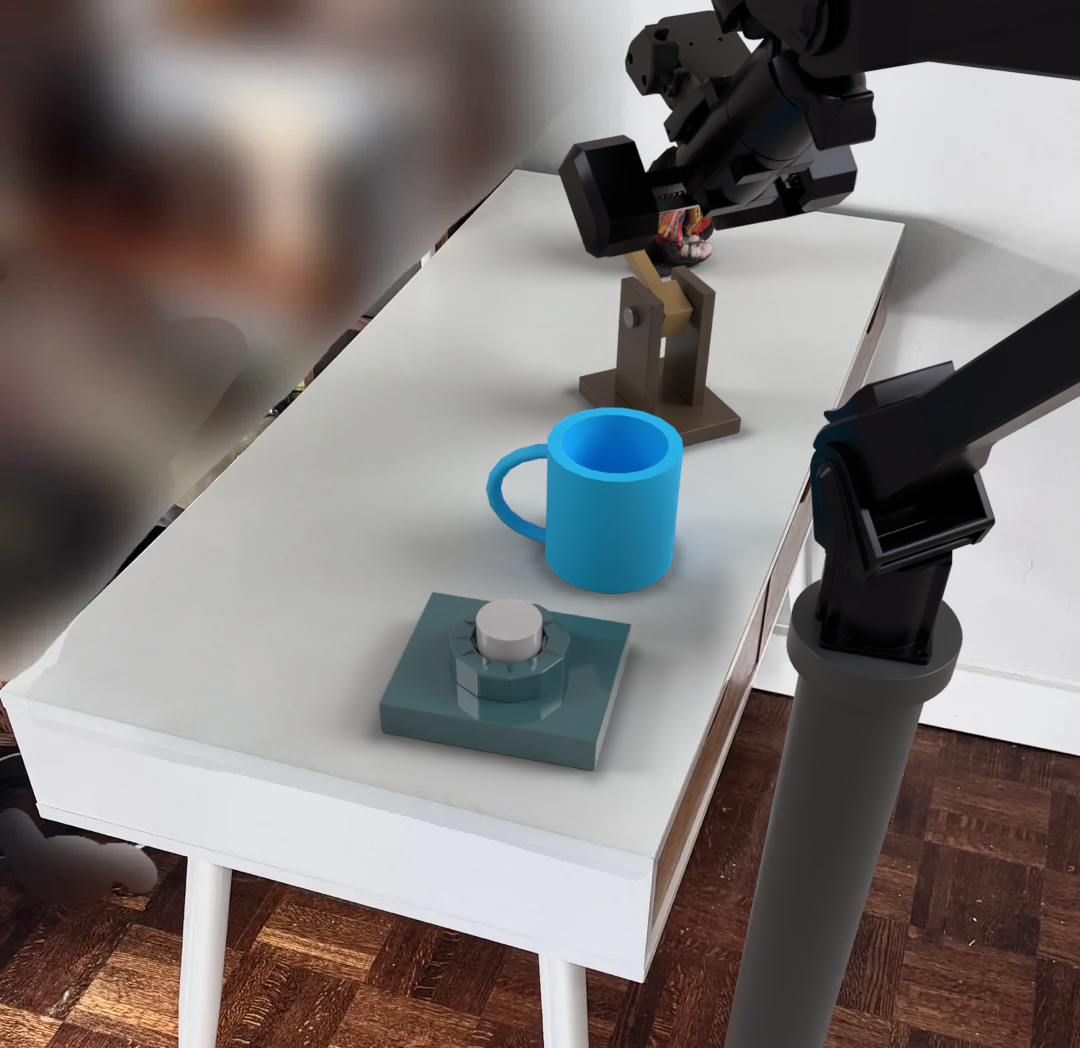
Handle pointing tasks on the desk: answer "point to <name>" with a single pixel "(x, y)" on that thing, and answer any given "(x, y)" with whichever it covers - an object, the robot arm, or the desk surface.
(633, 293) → the lever bracket
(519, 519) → the mug
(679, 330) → the flush lever
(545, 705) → the block
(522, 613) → the flush button
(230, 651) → the desk surface
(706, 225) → the figurine
